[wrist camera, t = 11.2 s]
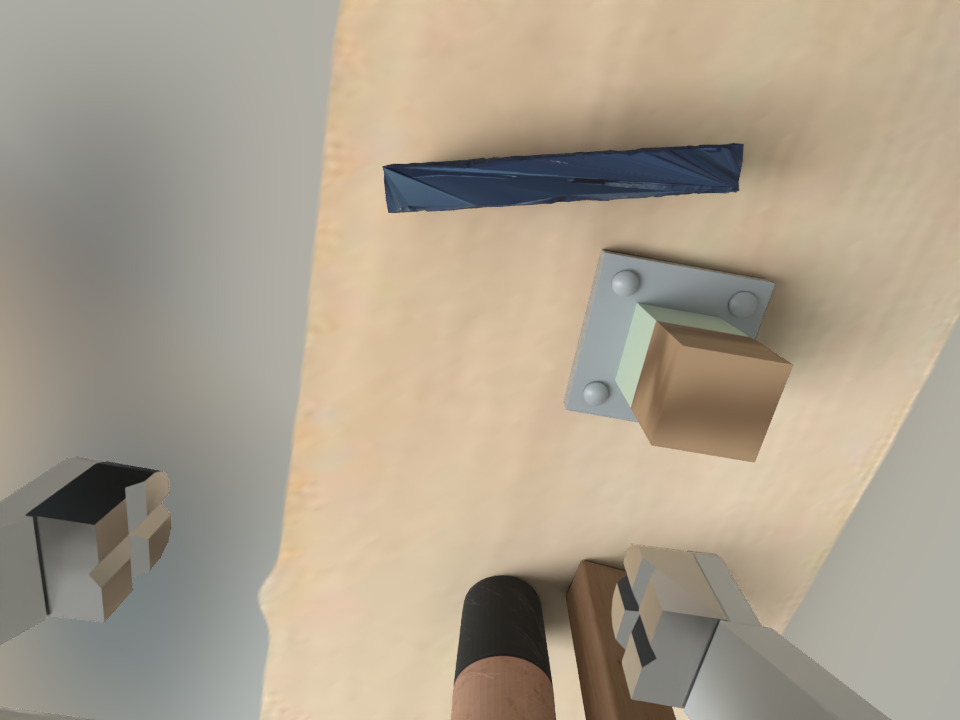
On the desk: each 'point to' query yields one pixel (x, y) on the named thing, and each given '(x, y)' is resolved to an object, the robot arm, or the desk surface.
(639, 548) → the robot arm
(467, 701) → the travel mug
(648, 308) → the green brick
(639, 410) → the walnut brick
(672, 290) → the base plate
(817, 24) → the desk surface
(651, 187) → the vhs cassette tape
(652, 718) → the wooden block
